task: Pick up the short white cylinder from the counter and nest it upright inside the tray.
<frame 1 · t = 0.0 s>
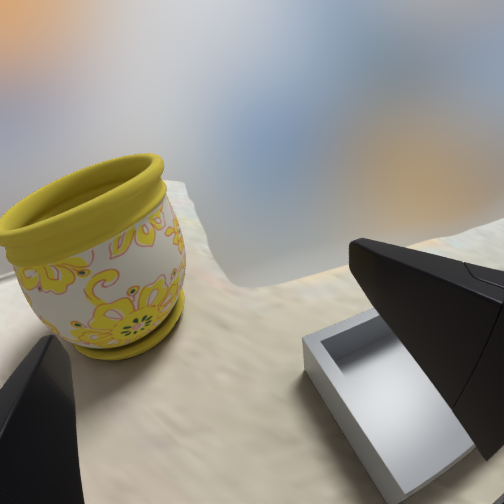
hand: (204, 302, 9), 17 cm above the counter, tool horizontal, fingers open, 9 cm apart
flowerpot: (129, 321, 34), on the counter
tray: (420, 391, 21), on the counter
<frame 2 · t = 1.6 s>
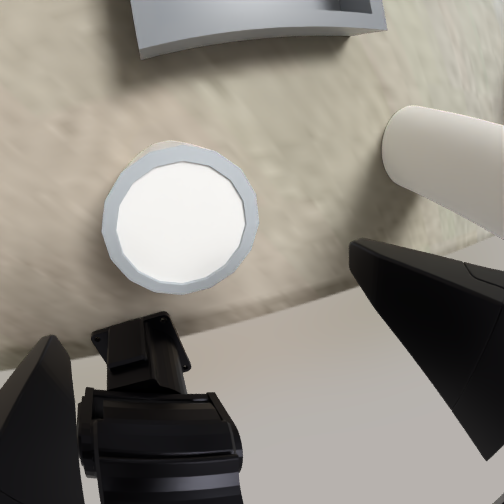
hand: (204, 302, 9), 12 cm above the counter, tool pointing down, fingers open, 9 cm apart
cylindrical container: (411, 146, 24), on the counter
short white cylinder: (169, 184, 19), on the counter
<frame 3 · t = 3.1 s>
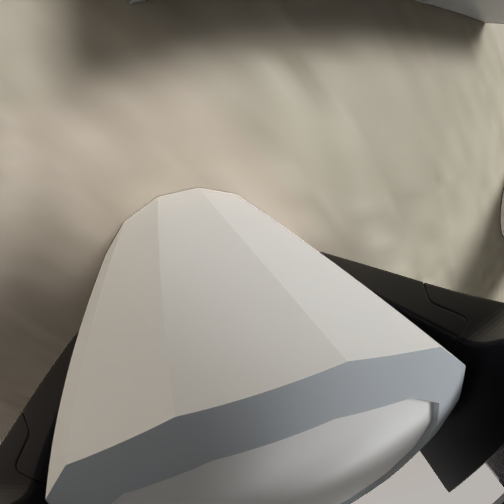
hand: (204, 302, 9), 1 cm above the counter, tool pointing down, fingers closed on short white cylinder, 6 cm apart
short white cylinder: (195, 275, 10), on the counter, touching gripper
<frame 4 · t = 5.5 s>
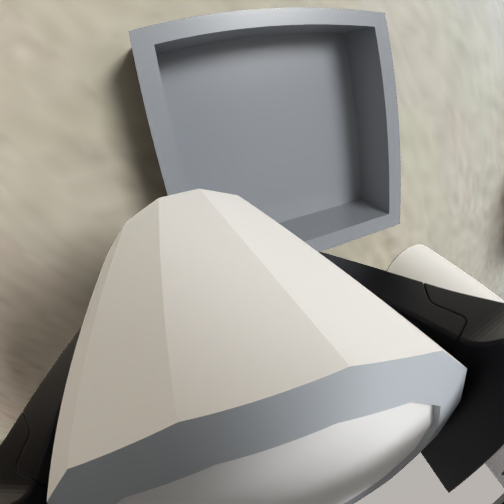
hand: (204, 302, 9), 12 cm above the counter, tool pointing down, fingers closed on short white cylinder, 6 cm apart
cylindrical container: (407, 276, 30), on the counter
short white cylinder: (196, 276, 10), point 11 cm above the counter, touching gripper
tray: (269, 129, 19), on the counter
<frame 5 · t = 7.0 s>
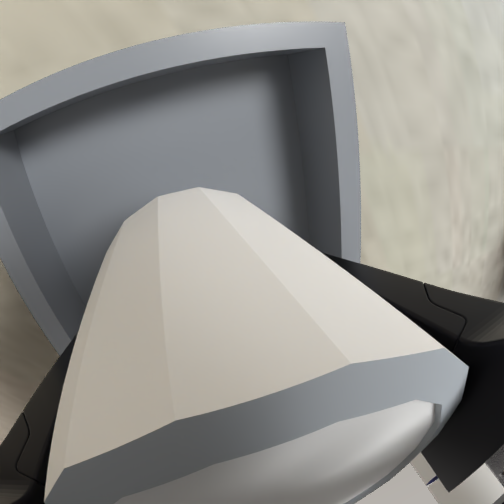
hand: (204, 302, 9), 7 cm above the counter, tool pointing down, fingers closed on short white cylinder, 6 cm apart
cylindrical container: (378, 344, 25), on the counter
short white cylinder: (196, 275, 10), point 6 cm above the counter, touching gripper
tray: (177, 207, 15), on the counter
when the fingers open (4 cm above the counter, at t = 8.1 s): short white cylinder drops 2 cm, resting on tray.
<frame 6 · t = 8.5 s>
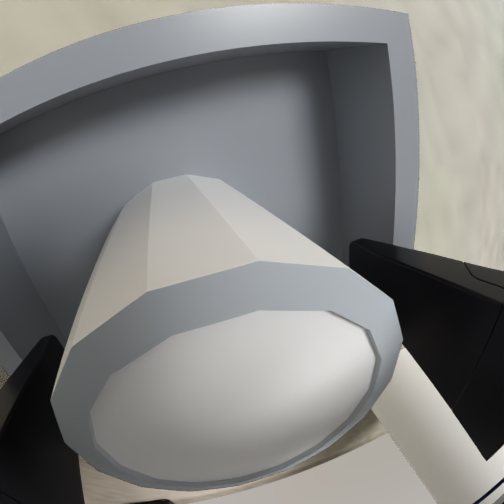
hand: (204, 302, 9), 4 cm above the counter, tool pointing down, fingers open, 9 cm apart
cylindrical container: (399, 372, 22), on the counter
short white cylinder: (186, 251, 11), point 1 cm above the counter, touching tray
tray: (186, 241, 12), on the counter
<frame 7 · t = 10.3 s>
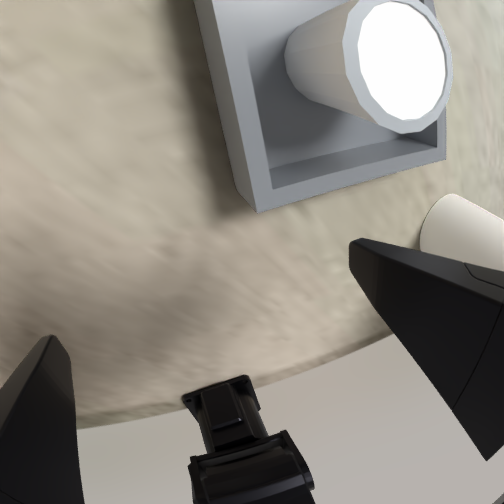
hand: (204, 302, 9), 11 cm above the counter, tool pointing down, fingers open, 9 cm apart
cylindrical container: (442, 226, 28), on the counter
short white cylinder: (325, 61, 16), point 1 cm above the counter, touching tray
tray: (321, 60, 17), on the counter
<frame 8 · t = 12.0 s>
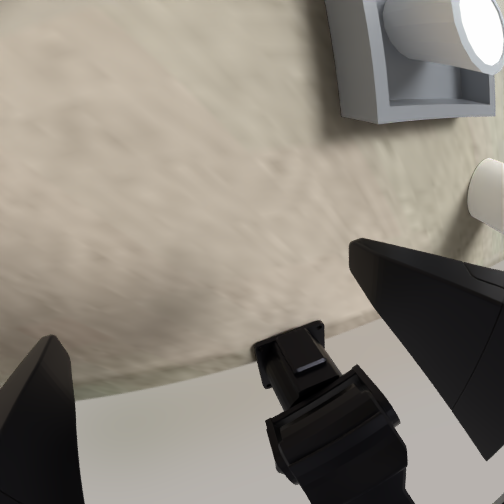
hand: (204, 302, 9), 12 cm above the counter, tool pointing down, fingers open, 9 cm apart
cylindrical container: (483, 187, 28), on the counter
short white cylinder: (408, 26, 17), point 1 cm above the counter, touching tray
tray: (404, 26, 18), on the counter
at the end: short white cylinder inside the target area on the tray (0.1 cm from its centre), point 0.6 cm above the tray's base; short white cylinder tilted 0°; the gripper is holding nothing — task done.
